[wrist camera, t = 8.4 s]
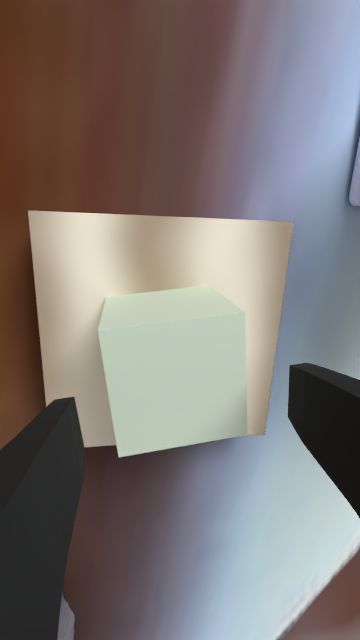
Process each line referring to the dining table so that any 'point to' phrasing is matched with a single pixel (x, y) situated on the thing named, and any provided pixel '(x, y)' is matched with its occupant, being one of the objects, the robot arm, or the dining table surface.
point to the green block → (174, 368)
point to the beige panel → (148, 276)
